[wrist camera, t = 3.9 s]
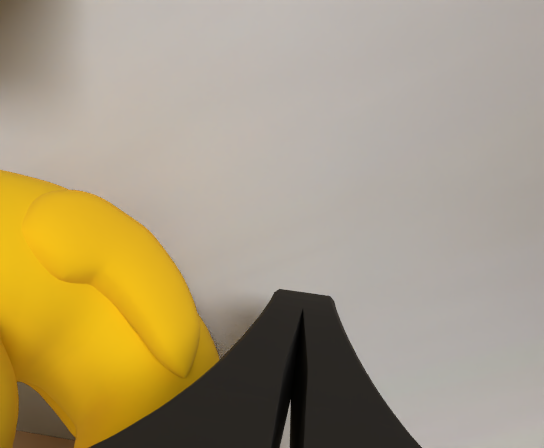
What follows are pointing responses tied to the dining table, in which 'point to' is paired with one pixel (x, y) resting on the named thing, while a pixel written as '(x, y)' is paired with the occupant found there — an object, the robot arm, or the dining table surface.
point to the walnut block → (40, 441)
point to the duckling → (90, 312)
